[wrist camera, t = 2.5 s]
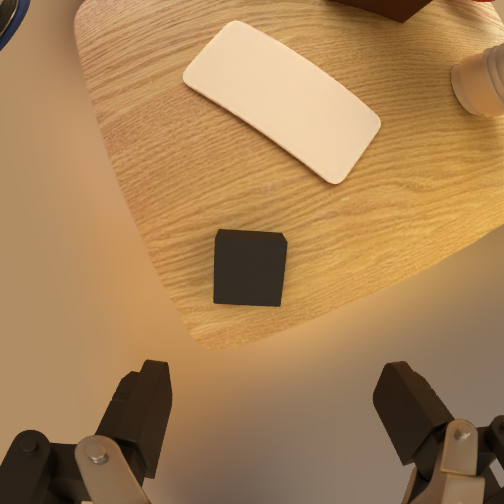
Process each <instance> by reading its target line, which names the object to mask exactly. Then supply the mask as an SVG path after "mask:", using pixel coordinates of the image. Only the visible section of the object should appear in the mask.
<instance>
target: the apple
mask: <svg viewBox="0 0 504 504" xmlns="http://www.w3.org/2000/svg"><path fill="white" fill-rule="evenodd" d="M472 1H476V2H492V1H494V0H472Z"/></svg>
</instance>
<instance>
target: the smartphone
mask: <svg viewBox="0 0 504 504" xmlns="http://www.w3.org/2000/svg"><path fill="white" fill-rule="evenodd" d="M182 79H183V81H184V83H185V84H186V85H187V86H188V87H190V88H192V89H193V90H195V91H197V92H199V93H200V94H202V95H204V96H205V97H207V98H209V99H210V100H212V101H214V102H215V103H217V104H218V105H220V106H222V107H223V108H225V109H226V110H228V111H230V112H231V113H233V114H234V115H236V116H237V117H239V118H240V119H242V120H243V121H245V122H246V123H248V124H249V125H251V126H252V127H254V128H255V129H257V130H258V131H260V132H261V133H263V134H264V135H265V136H267V137H268V138H270V139H271V140H273V141H274V142H275V143H276V144H278V145H279V146H280V147H282V148H283V149H285V150H286V151H287V152H289V153H290V154H291V155H293V156H294V157H295V158H297V159H298V160H300V161H301V162H302V163H304V164H305V165H306V166H308V167H309V168H310V169H311V170H313V171H314V172H315V173H316V174H318V175H319V176H320V177H321V178H323V179H324V180H325V181H327V182H329V183H332V184H338V183H340V182H341V181H343V180H344V178H345V177H346V176H347V174H348V173H349V172H350V170H351V169H352V167H353V166H354V165H355V163H356V162H357V160H358V159H359V158H360V156H361V155H362V153H363V152H364V151H365V149H366V148H367V146H368V145H369V144H370V142H371V141H372V139H373V138H374V136H375V135H376V134H377V132H378V131H379V129H380V126H381V121H380V119H379V117H378V116H377V115H376V113H374V112H373V111H372V110H371V109H370V108H369V107H368V106H367V105H365V104H364V103H363V102H362V101H361V100H360V99H358V98H357V97H356V96H355V95H354V94H352V93H351V92H350V91H349V90H348V89H346V88H345V87H344V86H343V85H341V84H340V83H339V82H337V81H336V80H335V79H333V78H332V77H331V76H329V75H328V74H327V73H325V72H324V71H323V70H321V69H320V68H318V67H317V66H316V65H314V64H313V63H311V62H310V61H308V60H307V59H305V58H304V57H302V56H301V55H299V54H298V53H296V52H295V51H293V50H292V49H290V48H288V47H287V46H285V45H284V44H282V43H280V42H279V41H277V40H275V39H273V38H272V37H270V36H268V35H266V34H265V33H263V32H261V31H259V30H257V29H255V28H254V27H252V26H250V25H248V24H246V23H244V22H241V21H231V22H229V23H228V24H227V25H225V26H224V27H223V28H222V29H221V30H220V32H219V33H218V34H217V35H216V36H215V37H214V38H213V39H212V40H211V41H210V42H209V43H208V44H207V45H206V46H205V48H204V49H203V50H202V51H201V52H200V53H199V54H198V55H197V57H196V58H195V59H194V60H193V61H192V62H191V64H190V65H189V66H188V67H187V68H186V70H185V71H184V73H183V75H182Z"/></svg>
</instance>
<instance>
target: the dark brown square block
mask: <svg viewBox="0 0 504 504" xmlns="http://www.w3.org/2000/svg"><path fill="white" fill-rule="evenodd" d="M286 253H287V241H286V239H285V237H284V236H283V234H282V233H275V232H259V231H242V230H225V229H219V230H218V233H217V235H216V237H215V255H214V296H213V303H215V304H232V305H251V306H275V307H280V306H281V297H282V289H283V280H284V271H285V262H286Z"/></svg>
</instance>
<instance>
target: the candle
mask: <svg viewBox="0 0 504 504" xmlns="http://www.w3.org/2000/svg"><path fill="white" fill-rule="evenodd" d="M451 83H452V87H453V90H454V93H455V95H456V97H457V99H458V101H459V102H460V103H461V105H462V106H463V107H464V108H465V109H466V110H467V111H468V112H469V113H471V114H473V115H479V114H483V115H484V116H486V117H490V118H491V117H495V116H500V115H504V43H502V44H501V45H496V46H494V47H492V48H487V49H486V50H484V51H483V53H480V54H475V55H471V56H467V57H465V58H463V60H462V61H461V64H457V65H455V66H454V67H453V69H452V71H451Z"/></svg>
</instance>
